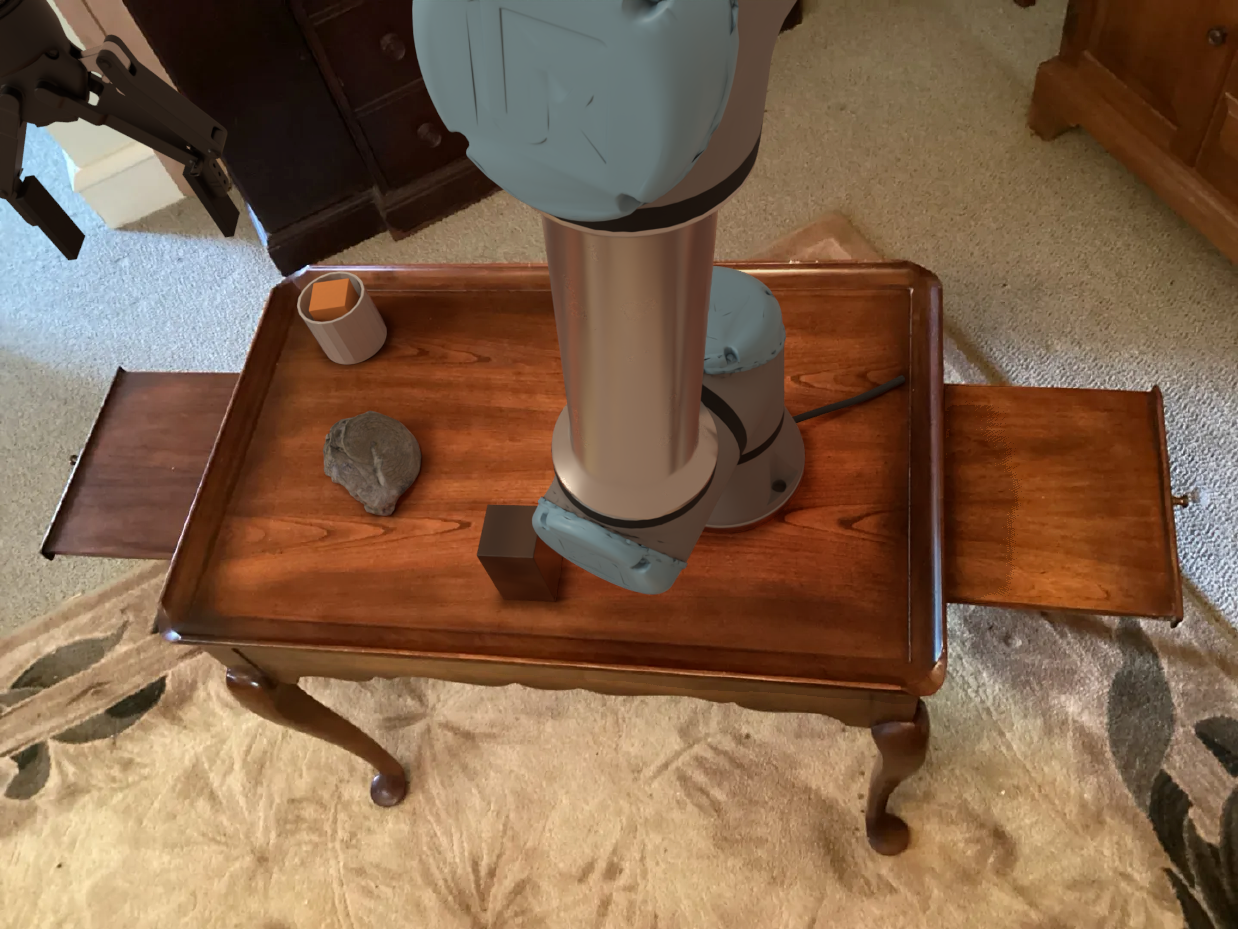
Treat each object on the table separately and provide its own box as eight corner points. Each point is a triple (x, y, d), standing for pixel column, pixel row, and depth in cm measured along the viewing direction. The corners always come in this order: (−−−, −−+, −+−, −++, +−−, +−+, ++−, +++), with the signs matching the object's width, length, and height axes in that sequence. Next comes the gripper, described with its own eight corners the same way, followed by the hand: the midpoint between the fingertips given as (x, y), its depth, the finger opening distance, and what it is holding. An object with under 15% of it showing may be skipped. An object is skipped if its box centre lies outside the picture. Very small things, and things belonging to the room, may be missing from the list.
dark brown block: (563, 552, 90) (542, 505, 83) (555, 602, 88) (533, 557, 80) (512, 551, 91) (487, 503, 84) (503, 599, 88) (476, 555, 81)
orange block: (372, 320, 109) (348, 277, 103) (369, 347, 107) (344, 305, 101) (339, 325, 110) (313, 282, 104) (334, 352, 108) (308, 310, 102)
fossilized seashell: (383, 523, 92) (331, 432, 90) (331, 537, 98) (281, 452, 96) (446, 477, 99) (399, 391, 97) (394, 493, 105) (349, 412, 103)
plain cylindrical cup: (389, 309, 110) (367, 266, 105) (384, 359, 106) (360, 318, 101) (328, 318, 111) (302, 276, 105) (320, 368, 107) (292, 327, 101)
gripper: (165, -73, 62) (305, 183, 79) (-184, -9, 64) (27, 225, 82) (138, -6, 58) (292, 248, 75) (-234, 60, 60) (-1, 290, 78)
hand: (154, 237), depth 79 cm, fingers open, 13 cm apart
